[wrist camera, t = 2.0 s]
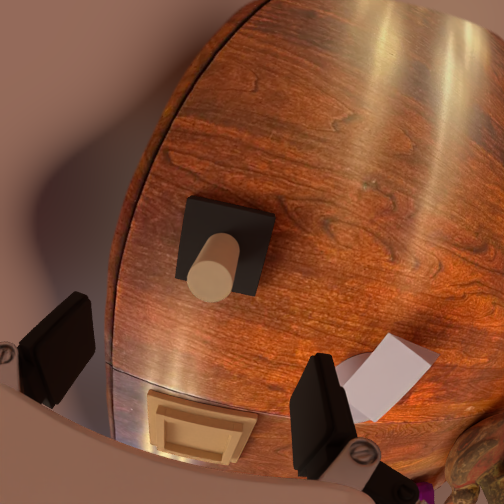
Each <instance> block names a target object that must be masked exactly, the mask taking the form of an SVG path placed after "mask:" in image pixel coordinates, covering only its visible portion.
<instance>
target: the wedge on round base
mask: <svg viewBox="0 0 504 504" xmlns="http://www.w3.org/2000/svg"><path fill="white" fill-rule="evenodd" d="M439 355H440V354H438V353H436V352H433V351H431V350H428V349H426V348H424V347H421V346H419V345H417V344H414V343H412V342H409V341H407V340H405V339H402V338H400V337H398V336H395V335H393V334H391V333H388V334H387V335H386V336H385V338H384V339H383V340H382V342H381V343H380V344H379V345H378V347H377V348H376V349H375V350H374V351H373V352H371V353H363V354H359V355H356V356H353V357H351V358H349V359H347V360H345V361H343V362H342V363H340V364H339V365H337V366H336V367H335V369H336V373H337V376H338V380H339V384H340V386H342V387H343V388H344V389H345V392H346V396H347V399H348V403H349V407H350V410H351V414H352V418H353V421H354V423H360V422H365V421H368V420H372V421H373V422H376V421H377V420H378V419H380V418H381V417H382V416H383V415H384V414H385V413H386V412H387V411H388V410H389V409H390V408H392V407H393V406H394V405H395V404H396V403H397V402H398V401H399V400H400V399H401V398H402V397H403V396H404V395H405V394H406V393H407V392H408V391H409V390H410V389H411V388H412V387H413V386H414V384H415V383H416V382H417V381H418V380H419V379H420V378H421V377H422V376H423V375H424V374H425V372H426V371H427V370H428V369H429V368H430V367H431V366H432V364H433V363H434V362H435V361H436V359H437V358H438V357H439Z"/></svg>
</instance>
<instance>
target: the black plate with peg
mask: <svg viewBox="0 0 504 504" xmlns="http://www.w3.org/2000/svg"><path fill="white" fill-rule="evenodd" d="M275 219H276V217H275V214H274V213H269V212H265V211H261V210H257V209H252V208H248V207H244V206H239V205H235V204H230V203H226V202H221V201H217V200H212V199H207V198H202V197H198V196H193V195H191V196H190V197H188V198H187V202H186V208H185V214H184V220H183V226H182V232H181V239H180V245H179V252H178V259H177V267H176V275H175V278H176V279H180V280H185V281H187V282H188V286H189V289H190V290H191V292H192V293H193V294H194V295H195V296H196V297H197V298H199V299H200V300H203V301H206V302H218V301H221V300H223V299H225V298H226V297H227V296H228V295H229V294H230V292H231V291H232V292H236V293H241V294H245V295H250V296H255V294H256V291H257V287H258V283H259V280H260V276H261V272H262V268H263V265H264V261H265V257H266V253H267V250H268V246H269V242H270V238H271V234H272V230H273V227H274V223H275Z"/></svg>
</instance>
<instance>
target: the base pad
mask: <svg viewBox="0 0 504 504" xmlns="http://www.w3.org/2000/svg"><path fill="white" fill-rule="evenodd" d="M147 402H148V420H149V434H150V444H152V445H155V446H157V450H159V451H162V452H166V453H170V454H174V455H178V456H182V457H186V458H190V459H195V460H200V461H205V462H210V463H216V464H222V465H228V464H229V462H233V463H237V461H238V459H239V457H240V455H241V453H242V451H243V449H244V447H245V445H246V442H247V440H248V438H249V436H250V434H251V432H252V430H253V428H254V426H255V423H256V421H257V419H258V414H257V413H250V412H244V411H238V410H232V409H227V408H221V407H216V406H212V405H207V404H202V403H198V402H194V401H189V400H185V399H181V398H177V397H174V396H170V395H166V394H163V393H159V392H156V391H153V390H149V391H148V394H147Z"/></svg>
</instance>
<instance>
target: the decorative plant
mask: <svg viewBox="0 0 504 504" xmlns="http://www.w3.org/2000/svg"><path fill="white" fill-rule="evenodd" d="M416 485H417V486H418V488H419V499H420V500H421V501H422V500H425V501H426V502H427V503H428V504H434V490H433V486H432V484H430V483H428V482H419V483H416Z"/></svg>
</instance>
